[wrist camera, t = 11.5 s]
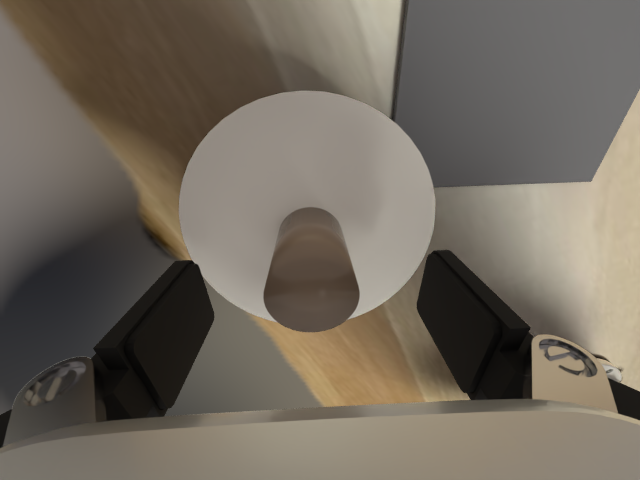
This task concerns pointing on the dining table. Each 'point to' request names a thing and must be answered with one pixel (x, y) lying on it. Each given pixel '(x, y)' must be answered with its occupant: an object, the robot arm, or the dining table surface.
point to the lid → (307, 208)
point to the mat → (516, 87)
